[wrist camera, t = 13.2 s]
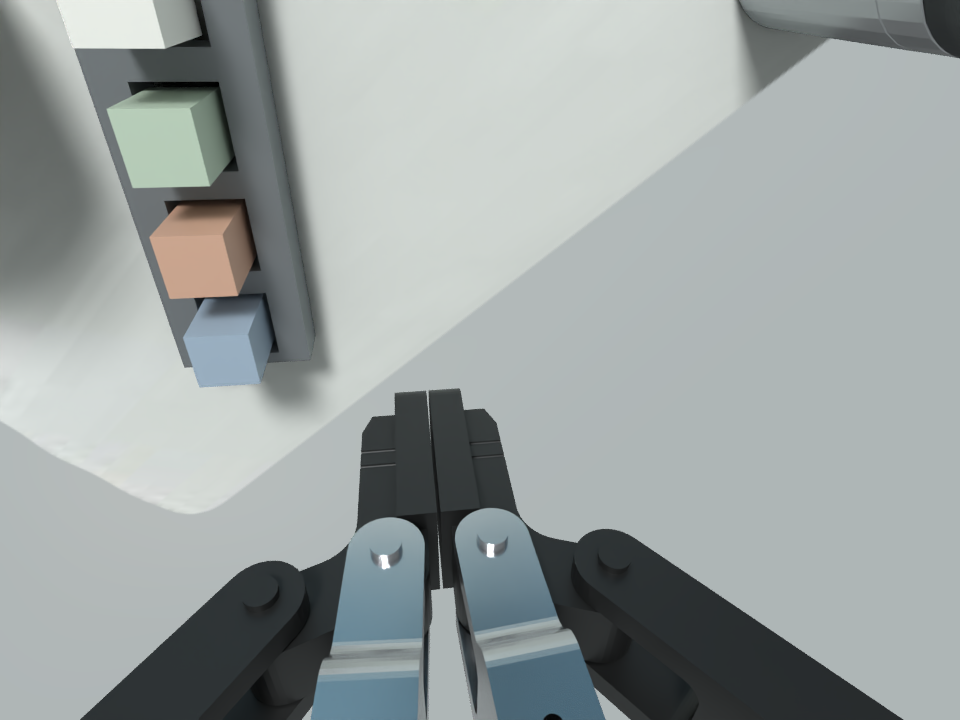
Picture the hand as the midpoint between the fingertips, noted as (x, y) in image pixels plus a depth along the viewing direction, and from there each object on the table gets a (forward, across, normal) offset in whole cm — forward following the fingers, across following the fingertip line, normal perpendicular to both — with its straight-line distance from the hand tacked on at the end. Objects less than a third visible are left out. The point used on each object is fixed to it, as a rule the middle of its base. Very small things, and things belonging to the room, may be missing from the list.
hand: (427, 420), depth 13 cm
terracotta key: (+33, +14, +8) cm, 37 cm away
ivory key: (+32, +14, -7) cm, 35 cm away
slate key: (+33, +14, +15) cm, 39 cm away
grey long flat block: (+35, +14, +4) cm, 38 cm away
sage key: (+33, +14, 0) cm, 36 cm away
